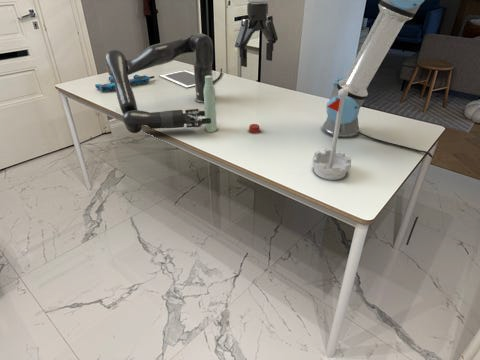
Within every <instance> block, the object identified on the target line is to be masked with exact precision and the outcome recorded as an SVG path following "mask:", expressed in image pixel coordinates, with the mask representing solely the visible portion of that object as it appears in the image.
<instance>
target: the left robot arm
mask: <svg viewBox="0 0 480 360" xmlns="http://www.w3.org/2000/svg"><path fill="white" fill-rule="evenodd" d="M192 53H195V60H194V61H193V73H194V75H195V86H194V88H195V100H196V102H198V103H202V104H204V86H205V76H212V83H213V84H215V83H216V82H217V81H218V80H219V79H220V78H221V77H222V75H223V74H222V73H223V68H220V74H219V76H218V77H217V78H216V79H213V62H214V44H213V39H212V38H211V37H210V36H209V35H207V34H204V33H201V32H197V33H196V32H195V33H194V34H191V35H187V36H185V37H182V38H180V39H179V38H178V39H174V40H168V41H164V42H159V43H155V44H152V45H150V46H148V47H146V48H145V49H144V50H142V52H140V53H139V54H138V55H137V56H134V57H132V58H128V59H127V57H126V55H125V54H124V53H123V52H122V51H121V50H118V49H111V50H109V51H107V52H106V54H105V55H104V63H105V66H106V70H107V71H106V72H107V73H108V75H109V77H113V79H114V83H115V88H116V89H115V92H116V97H117V98H116V99H117V102H118V104H119V105H118V106H119V108H120V110H121V112H122V122H123V124H124V127H125V128H126V129H127V131H128V132H129V133H131V134H138V133H140V132H141V131H142V130H143V126H147V127H148V128H149V129H150V130H151V129H152V130H155V129H180V128H181V129H183V128H184V127H185V126H186V128H201V127H202V125H206V124H210V123H211V119H210V118H205V110H200V109H199V108H192V109H191V108H190V109H185V110H184V111H183V109H172V110H163V111H152V112H150V111H146V110H139V109H138V105H137V104H138V103H137V100H136V98H135V94H134V90H133V88H132V85H130V82H129V79H130V78H129V76H131V75H133V74H135V73H137V72H140V71H144V70H147V69H150V68H154V67H156V66H161V65H165V64H168V63H171V62H173V61H175V60H176V59H178V58H180V57H181V56H183V55H188V54H192ZM213 80H214V81H213ZM200 117H204V118H200Z"/></svg>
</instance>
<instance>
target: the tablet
mask: <svg viewBox="0 0 480 360" xmlns="http://www.w3.org/2000/svg"><path fill="white" fill-rule="evenodd" d="M159 77H160V78H162V79H165V80H167V81H169V82H172V83H174V84H177V85H179V86H181V87H183V88H186V89H188V88H192V87H195V75H194V72H193V71H190V70H187V69H184V70H180V71H175V72H169V73H165V74H160V75H159ZM213 81H215V79H213Z"/></svg>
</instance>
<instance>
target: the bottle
mask: <svg viewBox="0 0 480 360" xmlns="http://www.w3.org/2000/svg"><path fill="white" fill-rule="evenodd" d="M212 78H213V75H212V76H205V86H204V103H203V104H204V111H205V116H204V118H210V119H211V123H210V124H205V131H206V132H209V133H213V132H216V131H217V130H218V128H217V127H218V126H217V103H216V90H215V85H214V83H212Z"/></svg>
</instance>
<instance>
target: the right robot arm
mask: <svg viewBox="0 0 480 360" xmlns="http://www.w3.org/2000/svg"><path fill="white" fill-rule="evenodd" d="M425 1H426V0H379V3H378V9H379V12H378V15H377V17H376V19H375V20H374V22H373V24H372V25H371V28H370V30H369V32H368V34H367V36H366V37H365V40H364V42H363V44H361V47H360V49H359V51H358V53H357V55H356V56H355V59H354V61H353V62H352V63H351V67H350V68H349V70H348V72H347V74H346V76H339V77H336V78H335V79H334V82H333V84H332V85H333V86H332V87H333V88H332V93H331V95H330V98H329V100H328V101H327V104H326V114H327V117H326V120H325V121H324V123H323V126H322V130H323V132H324V133H325V134H326V135H329V136H332V137H333V136H334V130H335V124H336V118H337V112H338V111H336V110H333V109H331V108H329V107H327V106H329V105H330V104H332V103H333V102H335V101H336V100H338V99H339V98H340V97H339V95H338V92H339V90H340V89H342V88H344V89H346V90H347V91H348V95H347V96H346V97H345V99H344V105H343V111H342V117H341V123H340V128H339V134H338V138H339V139H341V138H342V139H349V138H354V137H356V136H357V135H360V136H363V137H365V138H367V139H369V140H373V141H375V142H379V143H383V144H386V145H391V146H394V147H398V148H402V149H405V150H409V151H414V152H417V153H424V154H427V155H428V156H429V157H430V158H432V159H433V158H434V156H433V154H431V153H430V152H429V151H426V150H421V149H416V148H414V147H410V146H406V145H402V144H397V143H394V142H390V141H386V140H383V139H379V138H375V137H372V136H370V135H367V134H365V133H362V132H361V131H360V125H359V118H358V117H359V115H360V114H359V113H360V109H361V107H362V106H363V103H364V102H365V100H366V99H367V97H368V95H369V93H368V87H369V86H370V83H371V81H372V80H373V79H374V76H375V75H376V73H377V71H378V69H379V68H380V66H381V64H382V62H383V61H384V59H385V57H386V56H387V54H388V53H389V50H390V48H391V47H392V46H393V43H394V42H395V40H396V38H397V37H398V34H399V33H400V31H401V30H402V28H403V26H404V24H405V23H406V22H408V21H410V20H412V19H414V16H415V15H416V14H417V11H418V10H419V8H420V6H421V5H422V4H423V3H424V2H425ZM246 2H248V3H246V14H247V15H248V18H241V21H240V28H239V31H238V35H237V37H236V40H235V44H234V47H235V48H238V50H239V58H240V67H243V68H247V67H248V48H246V47H247V46H248V45H249V42H250V40H251V38H252V36H253V34H255V32H260V31H261V32H262V34H263V36H264V37H265V39H266V41H267V42H266V47H265V49H266V50H265V61H269V62H272V61H273V52H274V44H276V43H277V41H278V39H279V38H278V33H277V31H276V27H275V24H274V17H273V15H268V13H269V4H268V2H269V0H246ZM419 217H420V216H416V217H415V219H414V222H413V224H412V226H411V229H410V232H409V234H408V238H407V241H406V244H405V245H406V246H408V245H409V243H410V240H411V237H412V235H413V232H414V230H415V226H416V225H417V221H418V219H419Z"/></svg>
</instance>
